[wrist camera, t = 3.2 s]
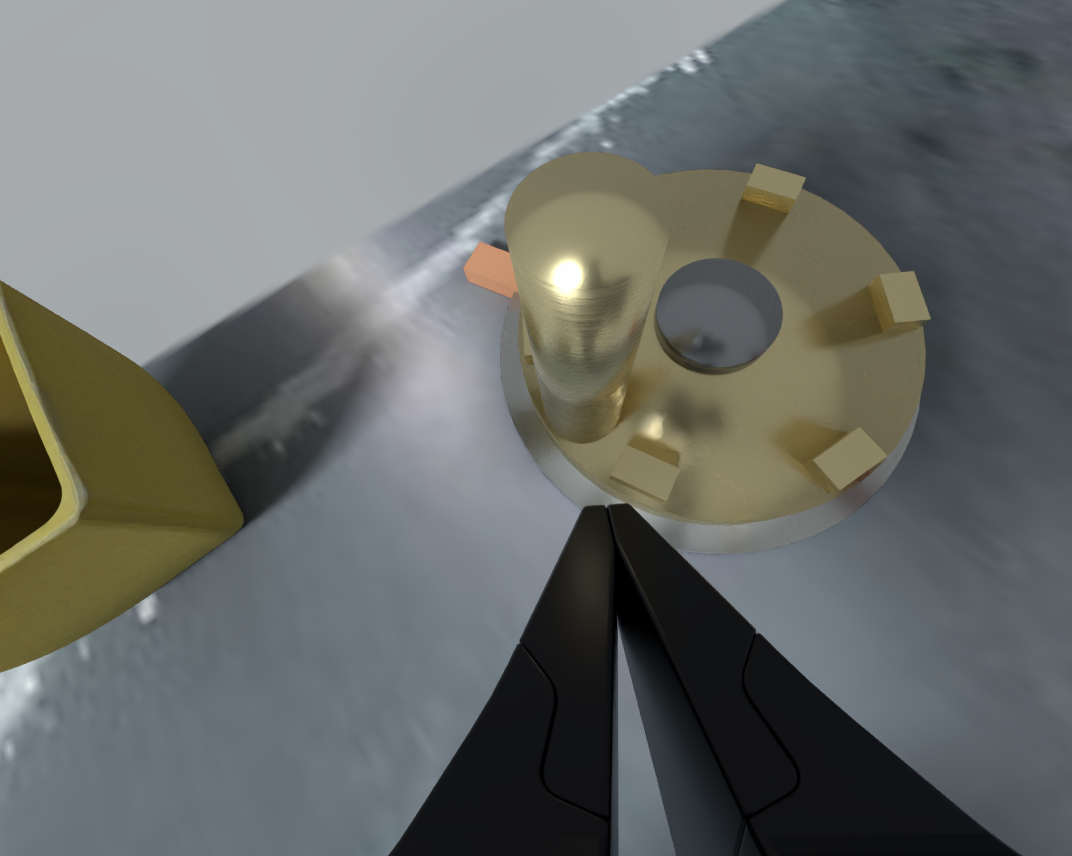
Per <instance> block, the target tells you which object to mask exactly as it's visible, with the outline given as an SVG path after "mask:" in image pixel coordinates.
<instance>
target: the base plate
mask: <svg viewBox="0 0 1072 856" xmlns="http://www.w3.org/2000/svg"><path fill="white" fill-rule="evenodd" d="M520 308H521V302H520V298H519V293H518V292H516V291H514V293H513V296H512V298H511V301H510V304H509V306H508V309H507V313H506V317H505V321H504V325H503V330H502V338H501V350H500V361H501V378H502V383H503V388H504V393H505V398H506V402H507V405H508V408H509V411H510V414H511V416H512V419H513V422H514V425H515V427H516V429H517V431H518V433H519V435H520V437H521V439H522V441H523V443H524V445H525V447H526V449H527V451H528V452H529V454H530V455H531V457H532V458H533V460H534V461H535V462H536V464H537V465H538V467H539V468H540V470H541V471H542V472H543V474H544V475H545V476H546V477H547V478H548V479H549V480H550V481H551V482H552V483H553V485H554V486H555V487H556V488H557V489H558V490H559V491H560V492H561V493H562V494H563V495H564V496H565V497H567V498H568V499H569V500H570V501H571V502H573V503H574V504H575V505H576V506H577V507H579V508H580V509H581V510H582V509H583V507H585V506H589V505H604V506H606V508H607V506H608V505H609V504H620V503H624V502H622V501H620V500H618V499H616V498H615V497H613V496H611V495H609V494H608V493H606V492H604V491H603V490H601V489H600V488H599V487H597V486H596V485H595V484H593V483H592V482H591V481H589V480H588V479H587V478H585V477H584V476H583V475H582V474H581V473H580V472H579V471H578V470H577V469H576V468H575V467H574V466H572V465H571V464H570V463H569V462H568V461H567V460H566V459H565V457H564V456H563V455H562V454H561V452H560V451H559V450H558V449H557V447H556V446H555V445H554V444H553V442H552V441H551V439H550V438H549V436H548V434H547V433H546V431H545V429H544V428H543V426H542V424H541V423H540V421H539V419H538V416H537V414H536V412H535V409H534V407H533V405H532V402H531V399H530V396H529V393H528V389H527V386H526V382H525V378H524V375H523V371H522V367H521V363H520V355H519V346H518V320H519V314H520ZM782 321H783V309H782V304H781V300H780V297H779V295H778V293H777V291H776V289H775V288H774V286H773V285H772V284H771V282H770V281H769V280H768V279H767V278H766V277H765V276H764V275H763V274H761V273H760V272H759V271H757V270H756V269H754V268H752V267H751V266H748V265H746V264H744V263H741V262H738V261H735V260H730V259H723V258H710V259H703V260H698V261H695V262H692V263H689V264H687V265H685V266H683V267H681V268H680V269H678V270H677V271H676V272H675V273H673V274H672V275H671V276H670V277H669V278H668V280H667V281H666V282H665V284H664V285H663V287H662V289H661V291H660V294H659V297H658V301H657V304H656V307H655V311H654V328H655V332H656V335H657V338H658V340H659V342H660V344H661V345H662V347H663V348H664V350H665V351H666V352H667V353H668V354H669V355H670V356H671V357H672V358H673V359H674V360H676V361H677V362H679V363H680V364H682V365H683V366H685V367H687V368H690V369H692V370H695V371H698V372H702V373H708V374H726V373H732V372H736V371H739V370H742V369H744V368H746V367H748V366H750V365H751V364H753V363H754V362H756V361H757V360H758V359H759V358H760V357H761V356H762V355H763V354H764V353H765V352H766V350H767V349H768V348H769V347H770V346H771V345H772V343H773V342H774V341H775V339H776V338H777V336H778V334H779V332H780V329H781V326H782ZM920 397H921V396H920ZM919 406H920V400H919V403H918V406H917V408H916V411H915V413H914V416H913V418H912V421H911V423H910V425H909V427H908V429H907V430H906V432H905V433H904V435H903V437H902V438H901V440H900V442H899V443H898V445H897V446H896V448H895V449H894V450H893V451H892V452H891V453H890V455H889V456H888V457H887V458H886V459H885V460H884V462H883V463H882V464H881V465H880V466H879V467H878V468H877V469H876V470H874V471H873V472H872V473H871V474H870V475H869V476H867V477H866V478H865V479H864V480H863V481H861V482H860V483H859V484H858V485H856V486H854V487H853V488H851V489H850V490H848V491H846V492H845V493H843V494H841V495H840V496H838V497H836V498H835V499H833V500H830V501H828V502H826V503H823V504H821V505H818V506H816V507H814V508H811V509H809V510H806V511H803V512H799V513H795V514H791V515H787V516H784V517H780V518H776V519H771V520H767V521H763V522H757V523H749V524H741V525H733V526H730V525H699V524H692V523H684V522H678V521H674V520H670V519H667V518H663V517H659V516H655V515H652V514H649V513H647V512H644V511H642V510H639V509H637V508H634V507H633V508H634V509H635V510H636V511H637V512H638V513H639V514H640V515H641V516H642V517H643V518H644V519H645V520H646V521H647V522H648V523H649V524H650V525H651V526H652V527H653V528H654V529H655V530H656V531H657V532H658V533H659V534H660V535H661V536H662V537H663V538H664V539H665V540H666V541H667V542H668V543H669V544H670V545H671V546H672V547H673V548H674V549H675V550H678V551H683V552H689V553H703V554H733V553H746V552H758V551H763V550H768V549H772V548H777V547H782V546H786V545H790V544H792V543H795V542H798V541H801V540H803V539H806V538H809V537H811V536H814V535H817V534H819V533H820V532H822V531H824V530H826V529H828V528H830V527H831V526H833V525H835V524H837V523H839V522H841V521H842V520H844V519H845V518H847V517H848V516H849V515H850V514H852V513H853V512H854V511H856V510H857V509H858V508H860V507H861V506H862V505H864V504H865V503H866V502H867V501H868V500H869V499H870V498H871V497H872V496H873V495H874V494H875V493H876V492H877V491H878V490H879V488H880V487H881V486H882V485H883V484H884V483H885V482H886V481H887V479H888V478H889V476H890V475H891V473H892V472H893V470H894V469H895V467H896V466H897V465H898V463H899V462H900V460H901V458H902V456H903V454H904V452H905V450H906V447H907V445H908V443H909V441H910V439H911V437H912V434H913V430H914V427H915V423H916V420H917V416H918V412H919Z"/></svg>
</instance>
